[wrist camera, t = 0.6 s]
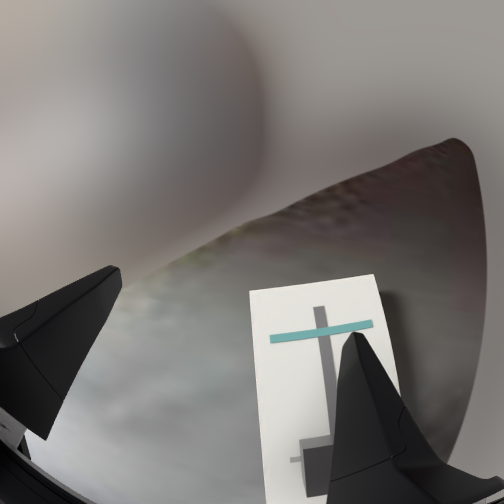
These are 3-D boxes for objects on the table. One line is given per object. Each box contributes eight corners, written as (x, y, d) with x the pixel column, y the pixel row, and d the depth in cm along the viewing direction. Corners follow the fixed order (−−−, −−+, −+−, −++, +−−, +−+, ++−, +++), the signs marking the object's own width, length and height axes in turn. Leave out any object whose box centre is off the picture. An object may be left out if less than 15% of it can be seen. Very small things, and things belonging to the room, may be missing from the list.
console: (394, 483, 14) (408, 491, 11) (270, 507, 14) (267, 520, 12) (364, 289, 23) (373, 273, 21) (253, 305, 24) (249, 290, 21)
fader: (375, 463, 13) (399, 476, 9) (302, 479, 13) (306, 499, 9) (371, 424, 14) (396, 427, 11) (298, 439, 15) (302, 448, 11)
